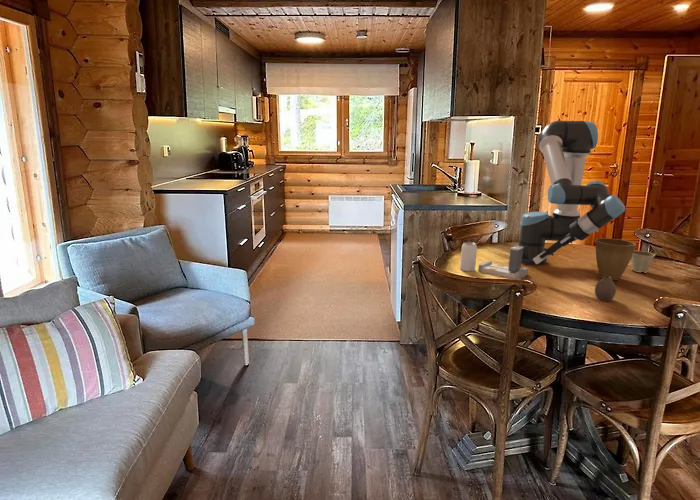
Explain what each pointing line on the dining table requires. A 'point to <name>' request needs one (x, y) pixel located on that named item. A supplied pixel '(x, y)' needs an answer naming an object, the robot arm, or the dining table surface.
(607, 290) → the vase
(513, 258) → the fader tab
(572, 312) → the dining table surface
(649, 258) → the flower pot
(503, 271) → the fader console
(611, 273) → the plant pot
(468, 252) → the can
